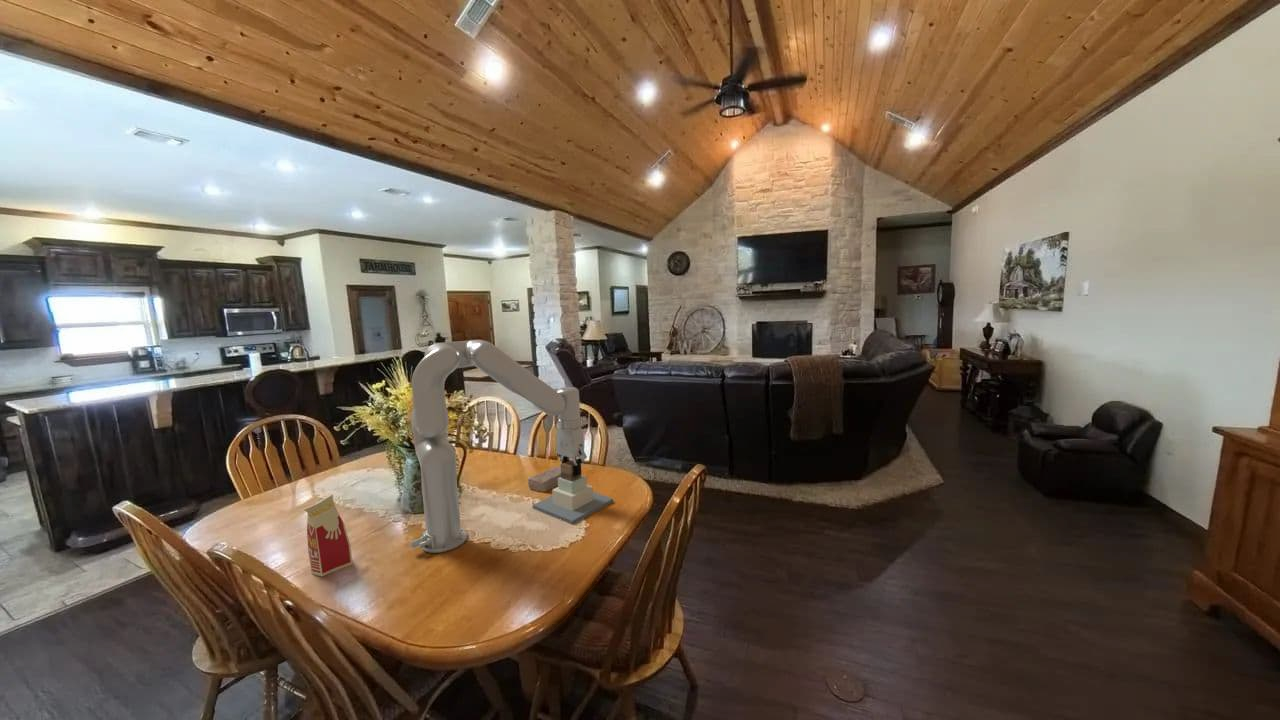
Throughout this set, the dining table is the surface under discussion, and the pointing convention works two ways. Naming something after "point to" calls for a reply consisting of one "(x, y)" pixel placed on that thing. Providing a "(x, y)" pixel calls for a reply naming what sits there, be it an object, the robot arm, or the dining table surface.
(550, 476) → the brick
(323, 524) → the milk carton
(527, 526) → the dining table surface
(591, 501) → the foundation
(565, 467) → the walnut cube
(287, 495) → the dining table surface
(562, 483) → the green block
